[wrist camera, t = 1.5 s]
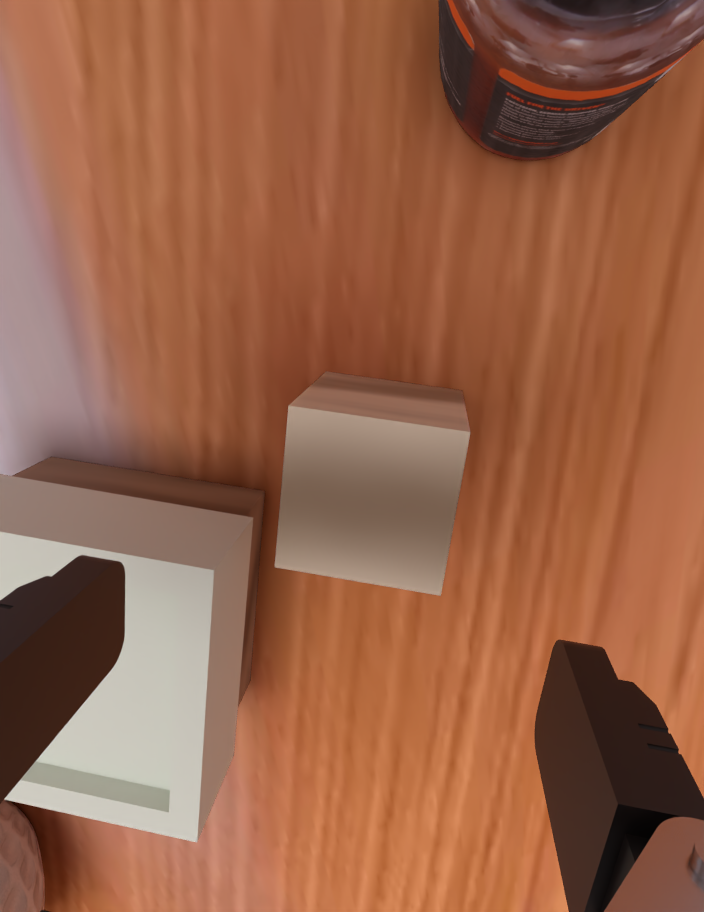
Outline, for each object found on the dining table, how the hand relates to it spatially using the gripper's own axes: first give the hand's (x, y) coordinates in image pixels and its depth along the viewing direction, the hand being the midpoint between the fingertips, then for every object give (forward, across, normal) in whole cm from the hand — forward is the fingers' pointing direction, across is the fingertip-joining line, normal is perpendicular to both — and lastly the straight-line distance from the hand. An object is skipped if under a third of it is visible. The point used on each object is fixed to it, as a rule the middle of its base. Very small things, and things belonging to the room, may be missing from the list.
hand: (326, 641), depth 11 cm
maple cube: (+12, 0, 0) cm, 13 cm away
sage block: (+9, +9, +7) cm, 14 cm away
